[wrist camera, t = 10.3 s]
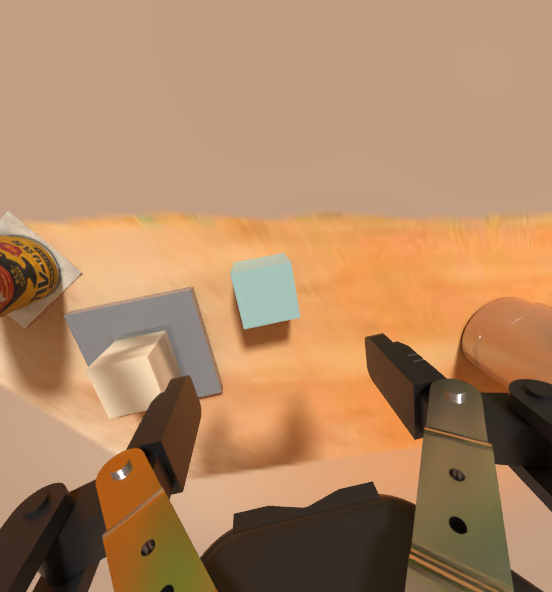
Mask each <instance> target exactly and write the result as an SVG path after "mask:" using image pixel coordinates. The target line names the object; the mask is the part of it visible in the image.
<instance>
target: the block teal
mask: <svg viewBox="0 0 552 592" xmlns="http://www.w3.org/2000/svg"><path fill="white" fill-rule="evenodd" d="M230 275H231V279H232V283H233V287H234V291H235V295H236V299H237V303H238V307H239V311H240V315H241V319H242V324H243V328H244V329H248V328H253V327H258V326H263V325H268V324H272V323H277V322H282V321H287V320H292V319H296V318H300V313H299V307H298V301H297V295H296V289H295V283H294V277H293V271H292V265H291V261H290V260H289V259H288V258H287V256H286V255H285V254H284V253H281V254H276V255H271V256H266V257H261V258H256V259H250V260H245V261H240V262H235V263H234V264H233V267H232V271H231V274H230Z"/></svg>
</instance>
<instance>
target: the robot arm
mask: <svg viewBox="0 0 552 592" xmlns="http://www.w3.org/2000/svg"><path fill="white" fill-rule="evenodd" d="M365 348H366V360H367V368H368V372H369V375H370V377H371V379H372V381H373V382H374V384H375V385H376V386H377V388H378V389H379V391H380V392H381V393H382V395H383V396H384V398H385V399H386V400H387V402H388V403H389V404H390V406H391V407H392V409H393V410H394V411H395V413H396V414H397V416H398V417H399V418H400V420H401V421H402V422H403V424H404V425H405V427H406V428H407V429H408V431H409V432H410V434H411V435H412V436H413V438H414V439H420V438H423V444H422V454H421V463H420V473H419V481H418V492H417V500H416V505H415V504H413V503H411V502H409V501H406V500H404V499H401V498H398V497H394V496H390V495H384V494H378V492H377V490H376V488H375V486H374V484H373V482H368V483H364V484H360V485H356V486H351V487H347V488H343V489H339V490H337V491H335V492H333V493H332V494H330V495H328V496H326V497H325V498H323V499H321V500H319V501H317V502H315V503H314V504H312V505H310V506H308V507H305V508H297V507H280V506H266V507H261V508H257V509H253V510H249V511H245V512H240V513H236V514H234V520H233V529H231V530H229V531H228V532H226V533H225V534H223V535H222V536H221V537H219V538H218V539H217V540H216V541H215V542H214V543H213V544H212V545H211V546H210V547H209V548H208V549H207V550H206V551H205V552H204V554H203V555H202V556H201V557H199V555H198V553H197V552H196V550H195V548H194V546H193V544H192V542H191V540H190V538H189V536H188V534H187V533H186V531H185V529H184V527H183V525H182V523H181V521H180V519H179V518H178V515H177V514H176V512H175V510H174V508H173V506H172V504H171V502H170V500H169V499H170V496H171V494H176V493H181V492H183V490H184V485H185V481H186V477H187V473H188V469H189V465H190V461H191V457H192V452H193V448H194V444H195V440H196V436H197V432H198V428H199V423H200V419H201V405H200V402H199V399H198V396H197V393H196V390H195V387H194V384H193V381H192V379H191V377H190V376H189V375H186V376H181V377H177V378H172V379H171V380H170V381H169V384H168V386H167V388H166V390H165V392H162V393H160V394H159V395H158V396H157V397H156V398H155V399H154V400H153V401H152V402H151V403H150V405H149V407H148V409H147V411H146V414H145V415H144V417H143V419H142V422H141V423H140V424H139V426H138V428H137V430H136V432H135V434H134V436H133V438H132V440H131V442H130V444H129V445H128V447H127V449H126V450H125V451H123V452H121V453H119V454H117V455H116V456H114V457H113V458H112V459H110V460H109V461H108V462H107V463H106V464H105V465H104V466H103V467H102V469H101V470H100V471H99V473H98V475H97V478H96V480H94V481H92V482H90V483H87V484H85V485H83V486H81V487H79V488H77V489H75V490H73V491H71V492H69V491H68V490H67V488H66V486H65V485H64V484H63V483H54V484H50V485H48V486H45V487H43V488H41V489H40V490H38V491H36V492H35V493H33V494H32V495H31V496H29V497H28V498H27V499H26V500H24V501H23V502H22V503H21V504H20V505H19V506H18V507H17V508H16V509H15V510H14V512H13V513H12V514H11V515H10V517H9V518H8V519H7V521H6V522H5V523H4V525H3V526H2V528H1V529H0V592H26V591H27V589H28V587H29V585H30V584H31V582H32V580H33V578H34V576H35V575H36V573H37V571H38V572H39V573H40V574H41V577H40V579H39V580H38V582H37V584H36V586H35V588H34V590H33V592H88V590H89V588H90V585H91V582H92V580H93V577H94V575H95V572H96V569H97V567H98V564H99V562H100V560H101V559H103V558H105V557H107V561H108V566H109V570H110V575H111V579H112V584H113V588H114V592H543V591H542V590H540V589H539V588H537V587H536V586H534V585H533V584H531V583H530V582H529V581H527V580H526V579H524V578H523V577H521V576H520V575H519V574H517V573H516V572H514V571H513V570H511V568H510V561H509V555H508V548H507V541H506V534H505V528H504V521H503V514H502V507H501V500H500V494H499V487H498V480H497V473H496V467H495V464H499V465H508V466H509V467H510V468H511V469H512V470H513V471H514V472H515V473H516V474H517V475H518V476H519V477H520V478H521V480H522V481H523V482H524V483H525V484H526V485H527V486H528V487H529V488H530V489H531V490H532V491H533V492H534V493H535V494H536V496H538V498H540V500H541V501H542V502H543V503H544V504H545V505H546V506H547V507H548V508H549V509H550V510H551V512H552V307H550V306H547V305H543V304H540V303H531V302H528V301H525V300H522V299H518V298H502V299H498V300H496V301H493V302H491V303H489V304H487V305H486V306H484V307H483V308H482V309H480V310H479V311H478V312H477V313H476V314H475V315H474V316H473V317H472V319H471V320H470V321H469V323H468V325H467V326H466V328H465V331H464V334H463V338H462V350H463V353H464V356H465V357H466V358H467V360H468V361H469V362H470V363H472V364H473V365H474V366H476V367H477V368H479V369H480V370H482V371H483V372H485V373H486V374H488V375H489V376H490V377H492V378H493V379H495V380H496V381H498V382H499V383H500V384H502V385H503V386H505V387H506V388H508V393H481V392H479V391H478V390H477V389H476V388H475V387H473V386H472V385H470V384H468V383H466V382H463V381H460V380H456V379H447V378H446V377H444V376H443V375H442V374H441V373H440V372H438V371H437V370H436V369H435V368H434V367H433V366H431V365H430V364H429V363H428V362H427V361H426V360H423V358H422V357H421V356H420V355H418V354H417V353H416V352H415V351H414V350H413V349H411V348H410V347H409V346H407V345H405V344H402V343H400V342H398V341H397V342H392V341H391V340H390V339H389V338H388V337H387V336H385V335H384V334H383V333H381V334H377V335H372V336H368V337H366V338H365Z"/></svg>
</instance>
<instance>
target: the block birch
mask: <svg viewBox="0 0 552 592" xmlns="http://www.w3.org/2000/svg"><path fill="white" fill-rule="evenodd" d="M86 372H87V374H88V376H89V378H90V380H91V383H92V385H93V387H94V389H95V391H96V393H97V395H98V397H99V399H100V401H101V403H102V405H103V407H104V409H105V411H106V413H107V415H108V417H109V418H114V417H119V416H123V415H128V414H132V413H137V412H142V411H146V410H147V409H148V407H149V405H150V403H151V402H152V401H153V400H154V399H155V398H156V397H157V396H158V395H159V394H160V393H162V392H165V390H166V388H167V386H168V384H169V381H170V380H171V379H172V378H177V377H179V376H180V374H181V371H180V368H179V365H178V363H177V360H176V357H175V354H174V351H173V349H172V346H171V343H170V340H169V337H168V334H167V332H166V330H165V331H160V332H155V333H151V334H146V335H141V336H136V337H131V338H126V339H122V340H117V341H115V342H114V343H113V344H112V345H111V346H110V347H109V348H108V349H106V350H105V351H104V352H103V353H102V354H101V355H100V356H99V357H98V358H97V359H96V360H95V361H94V362H93V363H92V364H91V365H90V366H89V367H88V368H87V369H86Z"/></svg>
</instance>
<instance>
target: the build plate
mask: <svg viewBox="0 0 552 592" xmlns="http://www.w3.org/2000/svg"><path fill="white" fill-rule="evenodd" d="M64 318H65V320H66V322H67V324H68V326H69V328H70V330H71V332H72V334H73V336H74V338H75V340H76V342H77V344H78V347H79V349H80V351H81V353H82V355H83V357H84V359H85V361H86V363H87V365H88V367H89V366H90V365H91V364H92V363H93V362H94V361H95V360H96V359H97V358H98V357H99V356H100V355H101V354H102V353H103V352H104V351H105V350H106V349H108V348H109V347H110V346H111V345H112V344H113V343H114V342H115V341H117V340H122V339H126V338H131V337H136V336H141V335H146V334H151V333H155V332H160V331H165V330H166V332H167V334H168V337H169V340H170V343H171V346H172V349H173V351H174V354H175V357H176V360H177V363H178V365H179V368H180V371H181V374H180V376H179V377H181V376H186V375H189V376H190V377H191V379H192V381H193V384H194V387H195V390H196V393H197V396H198V398H199V397H204V396H208V395H213V394H217V393H222V387H223V385H222V382H221V378H220V375H219V372H218V368H217V365H216V362H215V358H214V355H213V352H212V349H211V345H210V342H209V339H208V335H207V332H206V329H205V325H204V322H203V319H202V315H201V312H200V309H199V305H198V302H197V299H196V295H195V292H194V289H193V287H188V288H184V289H179V290H174V291H169V292H164V293H159V294H154V295H149V296H144V297H139V298H134V299H130V300H125V301H120V302H115V303H110V304H105V305H100V306H95V307H90V308H85V309H80V310H76V311H71V312H70V313H68V314H66V315H64Z"/></svg>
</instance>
